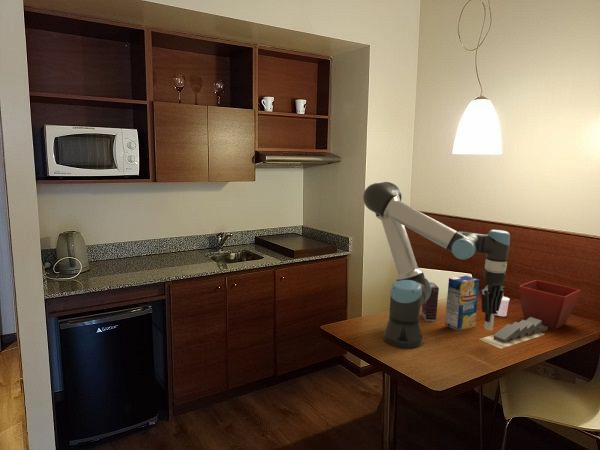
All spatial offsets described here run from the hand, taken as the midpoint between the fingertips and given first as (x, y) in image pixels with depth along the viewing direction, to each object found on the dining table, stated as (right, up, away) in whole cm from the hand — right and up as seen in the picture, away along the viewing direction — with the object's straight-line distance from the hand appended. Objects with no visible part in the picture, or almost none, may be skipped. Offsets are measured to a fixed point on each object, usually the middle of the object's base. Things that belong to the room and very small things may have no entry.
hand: (488, 329), depth 172 cm
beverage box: (-4, -4, +19) cm, 20 cm away
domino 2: (+10, -5, +7) cm, 13 cm away
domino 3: (+15, -4, +9) cm, 18 cm away
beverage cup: (+21, -3, +35) cm, 41 cm away
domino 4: (+19, -4, +12) cm, 23 cm away
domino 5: (+23, -4, +14) cm, 28 cm away
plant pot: (+38, -4, +28) cm, 48 cm away
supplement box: (-15, -2, +30) cm, 33 cm away
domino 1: (+6, -5, +4) cm, 9 cm away
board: (+14, -6, +9) cm, 17 cm away
